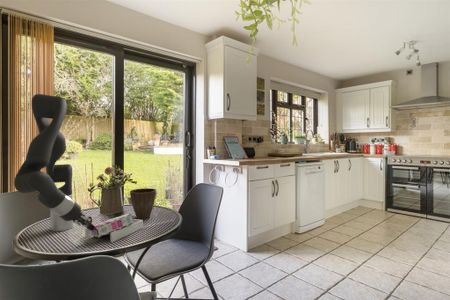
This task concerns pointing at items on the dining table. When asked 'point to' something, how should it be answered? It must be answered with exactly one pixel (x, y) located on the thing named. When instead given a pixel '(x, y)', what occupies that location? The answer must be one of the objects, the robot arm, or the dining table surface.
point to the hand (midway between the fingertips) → (92, 228)
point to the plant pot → (143, 202)
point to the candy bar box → (112, 225)
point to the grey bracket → (120, 230)
